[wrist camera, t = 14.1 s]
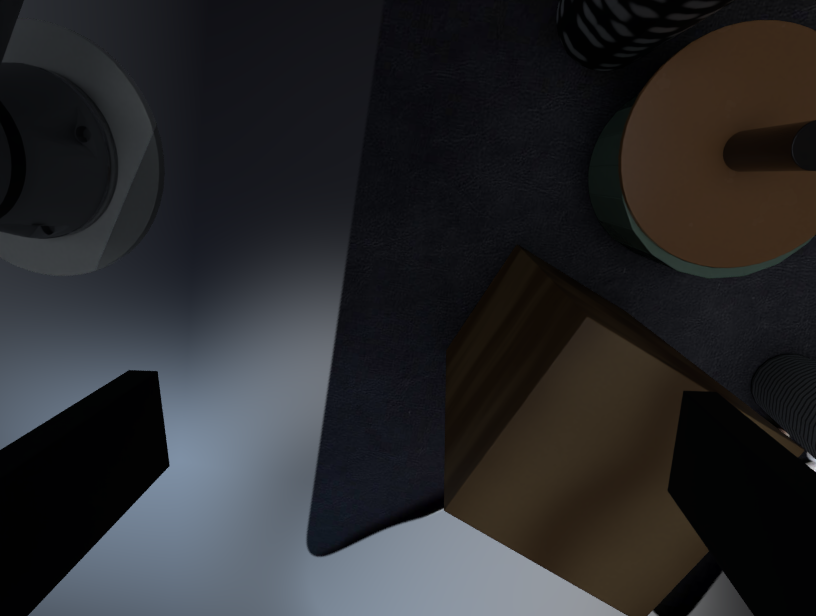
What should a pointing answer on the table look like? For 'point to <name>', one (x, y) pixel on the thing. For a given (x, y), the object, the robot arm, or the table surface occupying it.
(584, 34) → the spotted tube
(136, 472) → the robot arm
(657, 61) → the table surface
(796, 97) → the lid
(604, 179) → the pot
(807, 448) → the cup
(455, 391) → the stand
